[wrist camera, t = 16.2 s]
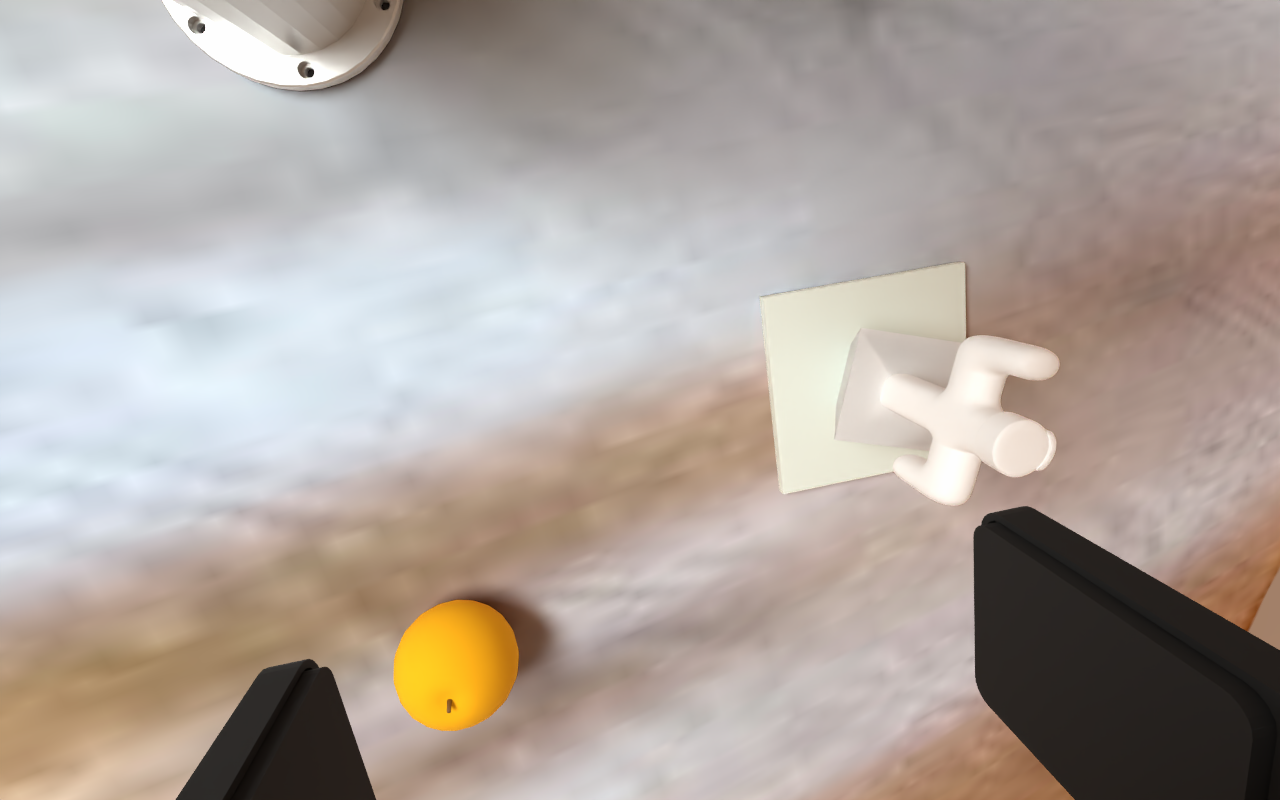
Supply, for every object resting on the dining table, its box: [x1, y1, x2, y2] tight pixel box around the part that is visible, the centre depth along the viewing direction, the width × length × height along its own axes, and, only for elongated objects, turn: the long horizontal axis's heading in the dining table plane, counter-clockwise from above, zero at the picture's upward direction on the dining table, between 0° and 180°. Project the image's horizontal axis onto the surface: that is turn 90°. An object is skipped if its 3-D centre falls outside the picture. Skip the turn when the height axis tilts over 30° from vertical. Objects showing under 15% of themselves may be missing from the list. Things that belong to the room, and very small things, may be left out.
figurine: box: [834, 328, 1060, 506], centre depth 37 cm, size 7×9×15 cm
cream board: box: [759, 262, 966, 494], centre depth 44 cm, size 14×14×1 cm
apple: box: [394, 600, 519, 731], centre depth 42 cm, size 8×8×8 cm
